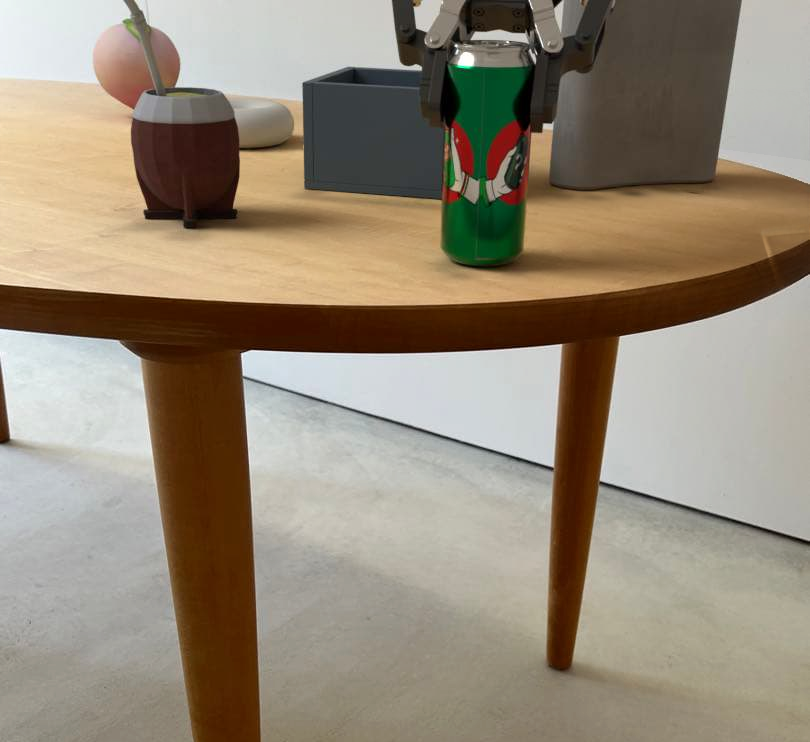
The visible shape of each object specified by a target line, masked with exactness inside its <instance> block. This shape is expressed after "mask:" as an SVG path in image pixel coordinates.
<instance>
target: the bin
mask: <svg viewBox="0 0 810 742" xmlns="http://www.w3.org/2000/svg"><path fill="white" fill-rule="evenodd" d="M421 71H422V70H418V69H400V68H399V69H398V68H383V67H381V68H379V67H362V66H361V67H360V66H357V67H356V66H345V67H343V68H340V69H338V70H334V71H331V72H328V73H326V74H322V75H319V76H317V77H314V78H310V79H308V80H305V81H302V84H301V87H302V128H303V129H302V137H303V138H302V140H303V141H302V142H303V180H304V181H303V187H304V189H305V190H315V191H330V192H343V193H344V192H345V193H354V194H355V193H356V194H368V195H382V196H394V197H408V198H420V199H421V198H422V199H432V200H442V181H443V150H444V123H443V128H430V123H429V118H423V117H422V114H421V111H420V104H419V97H418V91H419V86H420V78H421ZM444 119H445V116H444Z"/></svg>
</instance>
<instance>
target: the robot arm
mask: <svg viewBox="0 0 810 742" xmlns="http://www.w3.org/2000/svg"><path fill="white" fill-rule="evenodd" d="M422 1H423V0H391V5H392V6H391V7H392V14H393V16H392V17H393V24H394V25H393V26H394V32H395V39H396V46H397V53H398V58H399V59H398V60H399V62H400V64H401V65H403V66H404V67H412V66H413V67H414V66H415V65H417V66H419V67H421V70H420V71H421V78H420V86H419V91H418V97H419V104H420V111H421V114H422V117H423V118H429V123H430V128H443V123H444V116H445V89H446V63H447V62H448V60H449V58H450V57H451V55H452V53H453V51H454V50H455V48H454V46H453V45H454V43H455V42H457V41H465V40H472V38H473V37H474V34H475V33H488V32H494V31H502V32H507V33H511V34H525V37H526V39H527V43H528V44H530V45H531V48H530V51H531V55H534V57H535V73H534V82H533V91H532V100H531V109H530V133H531V134H543V131H544V124H545V125H546V124H547V125H553V124H554V119H555V118H556V114H557V105H558V95H559V86H560V80H561V77H562V76H563V75H564V74H565V73H567V72H569V71H573V70H575V71H576V72H578V73H581V74H585V73H589V72H590V71H591V70H592V69H593V68H594V65H595V62H596V60H597V57H598V54H599V52H600V49H601V46H602V44H603V41H604V38H605V36H606V33H607V30H608V28H609V25H610V22H611V20H612V17H613V14H614V12H615V9H616V6H617V4H618V1H619V0H581V4H582V5H583V6H584V7H585V10H584V12H583V15H582V17H581V20H580V23H579V25H578V28H577V31H576V33H575V35H572V36H568V37H564V38H562V35H561V29H560V27H559V23H558V21H557V17H556V13H555V8H557V7H558V6H559V5H560V3H561V2H563V0H442V2H441V3H440V8H439V13H438V15H437V17H435V20H434V21H433V23H432V25H431V26H430V28H429V30H428V31H424V30H421V29H419V28H417V23H416V22H417V21H416V15H415V8H419V7H420V6H421V4H422Z"/></svg>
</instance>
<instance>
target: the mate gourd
mask: <svg viewBox="0 0 810 742" xmlns="http://www.w3.org/2000/svg"><path fill="white" fill-rule="evenodd" d="M122 1H123V2H124V4H125V5H126V7H127V8H128V10H129V12H130V15H129V16H130V19H131V20H132V22H133V25H134V28H135V30H137V31H138V34H139V37H140V40H141V44H142V47H143V50H144V53H145V57H146V60H147V63H148V67H149V70H150V73H151V76H152V80H153V83H154V86H155V89H150V90H146V91H144V92H143V93H142V95H141V97H140V99H139V100H138V102H137V104H136V107H135V109H134V110H132V113H131V116H132V120H131V126H130V144H131V149H132V155H133V165H134V170H135V176H136V180H137V183H138V186H139V189H140V191H141V193H142V196H143V199H144V203H145V206H146V208H147V209H143V211H142V213H143V215H144V219H146V220H154V219H155V220H158V219H159V220H161V219H162V220H164V219H165V220H169V219H170V220H171V219H172V220H174V219H177V220H179V219H180V220H182V222H183V228H185V229H194V228H196V227H197V223H198V220H199V219H237V218H238V209H237V208H234V205H235V199H236V195H237V191H238V186H239V181H240V175H241V174H240V173H241V171H240V169H241V159H240V148H239V133H238V126H237V122H236V119H235V112H234V110H233V108H232V106H231V104H230V103H229V101H228V97H227V96H226V95H225V94H224V93H223V92H222V91H221V90H218V89H214V88H206V87H192V86H191V87H190V86H189V87H187V86H186V87H185V86H184V87H183V86H182V87H181V86H180V87H179V86H175V87H172V88H164V86H163V83H162V79H161V76H160V73H159V69H158V66H157V63H156V59H155V56H154V53H153V49H152V46H151V42H150V39H149V35H148V32H147V26H148V25H149V24H148V23H147V20H146V17H145V14H144V11H143V10H142V9H140V7H139V5H138V3H137V2H136V1H135V0H122ZM147 24H148V25H147Z"/></svg>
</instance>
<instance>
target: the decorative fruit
mask: <svg viewBox="0 0 810 742" xmlns="http://www.w3.org/2000/svg"><path fill="white" fill-rule="evenodd" d="M121 22H122V23H118V24H114V25H111V26H109V27H108V28H107V29H105V30H103V32H102V33H101V34H100V35H99V36H98V38H97V40H96V42H95V44H94V47H93V52H92V66H93V71H94V74H95V77H96V79H97V81H98V83H99V84H100V86H101V88H102V89H103V90H104V91H105V93H107V94H108V95H109V96H110V97H112V98H113V99H115V100H117V102H120V103H121V104H123V105H124V106H126V107H128V108H130V109H132V111H134V109H135V107H136V104H137V102H138V100H139V99H140V97H141V95H142V93H143V92H144V91H146V90H150V89H155V86H154V83H153V80H152V76H151V73H150V70H149V67H148V63H147V60H146V57H145V53H144V50H143V47H142V44H141V40H140V37H139V34H138V31H137V30H135V28H134V25H133V22H132V20H131V18H125V19H123V20H122V21H121ZM147 25H148V26H147V32H148V35H149V39H150V42H151V46H152V49H153V53H154V56H155V59H156V63H157V66H158V69H159V73H160V76H161V79H162V83H163V86H164V88H172V87H177V83H178V81H179V77H180V73H181V57H180V53H179V52H178V49H177V48H176V46H175V44H174V42H173V41H172V40H171V38H170V37H169V36H168V35H167V34H166V32H164V31H162V30H160V29H159V28H157V27H154V26H151V25H150V24H148V23H147Z"/></svg>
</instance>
